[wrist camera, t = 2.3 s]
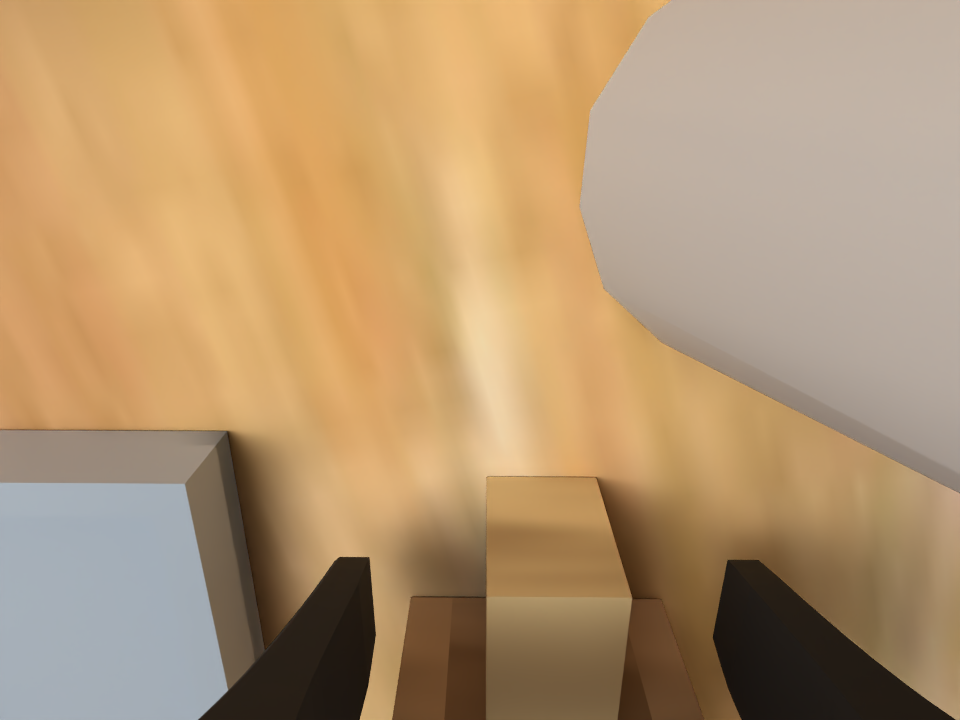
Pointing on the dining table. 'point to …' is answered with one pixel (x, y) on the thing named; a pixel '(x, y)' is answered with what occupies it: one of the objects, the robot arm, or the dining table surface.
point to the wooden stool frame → (544, 623)
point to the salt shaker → (794, 207)
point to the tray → (121, 575)
